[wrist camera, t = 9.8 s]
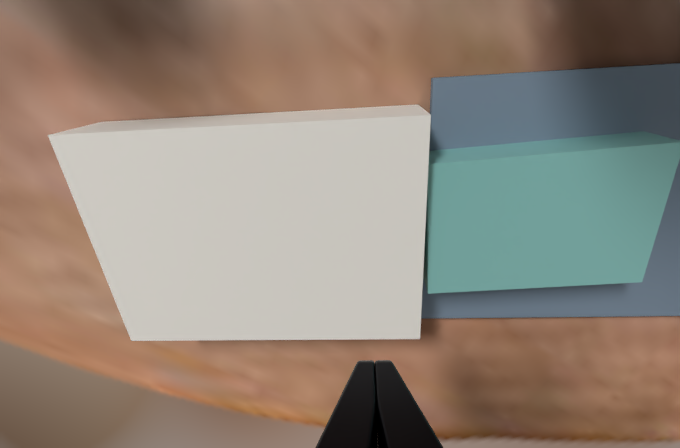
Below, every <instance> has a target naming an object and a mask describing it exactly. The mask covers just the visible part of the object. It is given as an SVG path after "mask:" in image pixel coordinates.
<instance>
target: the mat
mask: <svg viewBox="0 0 680 448" xmlns="http://www.w3.org/2000/svg"><path fill="white" fill-rule="evenodd" d="M430 115H431V124H430V144H429V151H433V150H444V149H455V148H466V147H477V146H488V145H499V144H510V143H521V142H532V141H543V140H554V139H565V138H576V137H587V136H598V135H609V134H620V133H631V132H641V131H645V132H649V133H653V134H657V135H660V136H664V137H668V138H672V139H676V140H680V63H672V64H655V65H639V66H622V67H605V68H589V69H572V70H556V71H539V72H522V73H506V74H489V75H473V76H456V77H440V78H431V98H430ZM611 316H680V159H679V163H678V166H677V169H676V173H675V176H674V179H673V182H672V186H671V189H670V192H669V196H668V199H667V202H666V205H665V209H664V212H663V215H662V219H661V222H660V225H659V228H658V232H657V235H656V238H655V241H654V245H653V248H652V251H651V255H650V258H649V261H648V264H647V268H646V271H645V274H644V278H643V281H642V282H637V283H619V284H600V285H581V286H563V287H544V288H525V289H507V290H488V291H469V292H451V293H432V294H428V292H427V289H426V285H425V282H424V278H423V288H422V309H421V318H513V317H611Z"/></svg>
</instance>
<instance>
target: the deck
mask: <svg viewBox="0 0 680 448" xmlns="http://www.w3.org/2000/svg"><path fill="white" fill-rule="evenodd" d="M430 124H431V115H430V114H429V113H428V112H427V111H425V110H424V109H423V108H422V107H421V106H419V105H400V106H382V107H364V108H345V109H327V110H309V111H291V112H272V113H254V114H236V115H218V116H200V117H181V118H163V119H145V120H127V121H109V122H99V123H95V124H91V125H87V126H83V127H79V128H75V129H71V130H67V131H63V132H59V133H55V134H51V135H48V137H49V139H50V142H51V144H52V147H53V149H54V151H55V154H56V156H57V159H58V161H59V164H60V166H61V169H62V171H63V174H64V176H65V179H66V181H67V183H68V186H69V188H70V191H71V193H72V196H73V198H74V201H75V203H76V206H77V208H78V211H79V213H80V215H81V218H82V220H83V223H84V225H85V228H86V230H87V233H88V235H89V238H90V240H91V243H92V245H93V247H94V250H95V252H96V255H97V257H98V260H99V262H100V265H101V267H102V270H103V272H104V275H105V277H106V279H107V282H108V284H109V287H110V289H111V292H112V294H113V297H114V299H115V302H116V304H117V307H118V309H119V311H120V314H121V316H122V319H123V321H124V324H125V326H126V329H127V331H128V334H129V336H130V339H131V341H177V340H347V339H420V330H421V309H422V288H423V268H424V247H425V227H426V206H427V185H428V165H429V144H430Z"/></svg>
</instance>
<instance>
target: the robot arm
mask: <svg viewBox="0 0 680 448" xmlns="http://www.w3.org/2000/svg"><path fill="white" fill-rule="evenodd" d="M377 433H378V436H377ZM316 448H443V446H442V445H441V443H440V441H439V440H438V438H437V436H436V435H435V433H434V431H433V430H432V428H431V426H430V425H429V423H428V421H427V420H426V418H425V416H424V415H423V413H422V411H421V410H420V408H419V406H418V405H417V403H416V401H415V400H414V398H413V396H412V395H411V393H410V391H409V390H408V388H407V386H406V384H405V383H404V381H403V379H402V378H401V376H400V374H399V373H398V371H397V369H396V368H395V366H394V364H393V363H392V362H391V361H389V360H378V361H376V362H375V364H374V361H358V362H357V364H356V366H355V368H354V370H353V372H352V374H351V376H350V378H349V380H348V382H347V384H346V386H345V388H344V390H343V392H342V395H341V397H340V399H339V401H338V403H337V405H336V407H335V409H334V411H333V413H332V415H331V417H330V419H329V421H328V423H327V425H326V427H325V429H324V431H323V433H322V435H321V438H320V440H319V442H318V444H317V446H316Z"/></svg>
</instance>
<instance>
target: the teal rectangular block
mask: <svg viewBox="0 0 680 448" xmlns="http://www.w3.org/2000/svg"><path fill="white" fill-rule="evenodd" d="M679 159H680V140H676V139H672V138H668V137H664V136H660V135H657V134H653V133H649V132H645V131H641V132H631V133H620V134H609V135H598V136H587V137H576V138H565V139H554V140H543V141H532V142H521V143H510V144H499V145H488V146H477V147H466V148H455V149H444V150H433V151H429V165H428V185H427V206H426V227H425V247H424V268H423V278H424V282H425V285H426V289H427V292H428V294H432V293H451V292H469V291H488V290H507V289H525V288H544V287H563V286H581V285H600V284H619V283H637V282H642V281H643V278H644V274H645V271H646V268H647V264H648V261H649V258H650V255H651V251H652V248H653V245H654V241H655V238H656V235H657V232H658V228H659V225H660V222H661V219H662V215H663V212H664V209H665V205H666V202H667V199H668V196H669V192H670V189H671V186H672V182H673V179H674V176H675V173H676V169H677V166H678V163H679Z"/></svg>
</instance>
